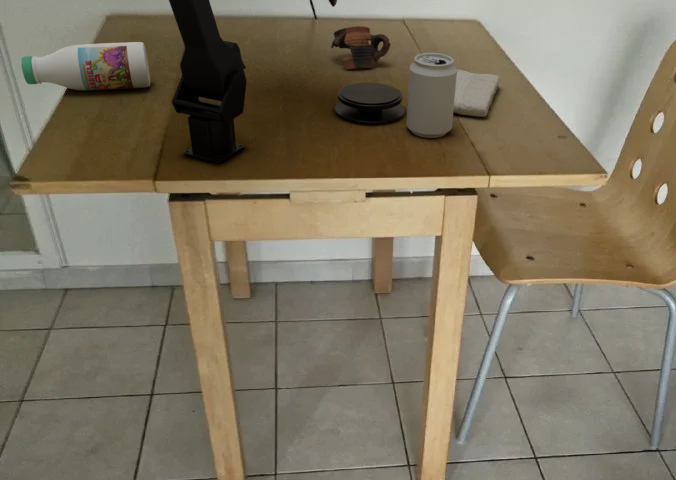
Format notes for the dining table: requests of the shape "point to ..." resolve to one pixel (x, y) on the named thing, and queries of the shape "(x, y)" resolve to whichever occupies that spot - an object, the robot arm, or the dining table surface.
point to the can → (431, 95)
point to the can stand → (369, 104)
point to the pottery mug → (360, 46)
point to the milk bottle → (91, 67)
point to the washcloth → (474, 93)
